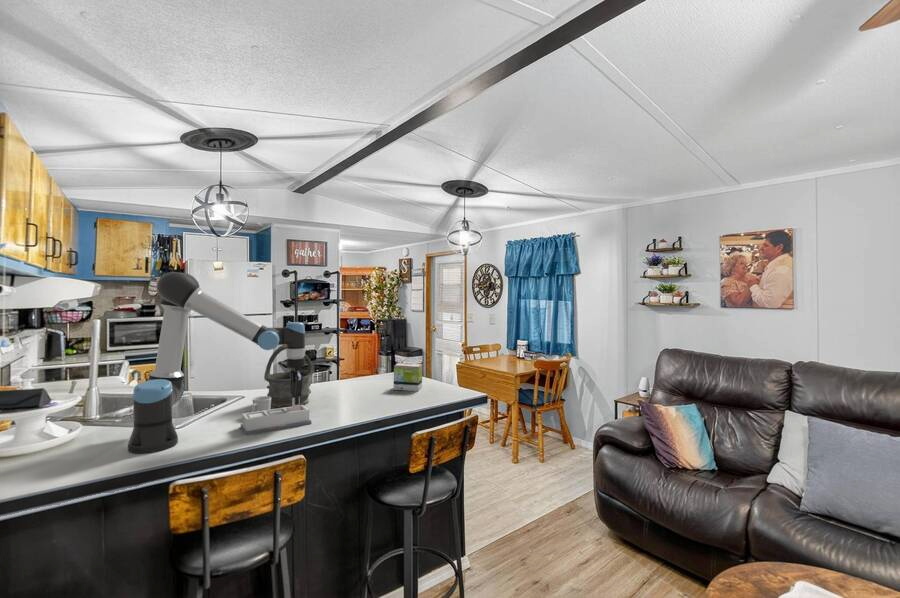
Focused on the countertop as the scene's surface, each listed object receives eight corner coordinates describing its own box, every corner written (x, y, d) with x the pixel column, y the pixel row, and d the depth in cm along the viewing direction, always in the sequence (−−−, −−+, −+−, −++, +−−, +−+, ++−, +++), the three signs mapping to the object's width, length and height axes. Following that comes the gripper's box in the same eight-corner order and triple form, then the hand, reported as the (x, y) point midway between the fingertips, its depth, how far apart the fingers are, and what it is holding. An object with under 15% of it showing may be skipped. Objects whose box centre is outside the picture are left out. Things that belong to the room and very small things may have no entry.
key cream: (250, 422, 173) (250, 417, 173) (248, 419, 177) (248, 414, 177) (263, 420, 176) (263, 415, 176) (261, 417, 180) (261, 413, 180)
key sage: (271, 419, 178) (271, 414, 178) (268, 416, 182) (268, 411, 182) (284, 417, 180) (284, 412, 180) (281, 414, 185) (281, 410, 185)
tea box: (393, 390, 246) (393, 365, 246) (398, 386, 256) (398, 362, 256) (418, 391, 244) (418, 366, 244) (422, 387, 254) (422, 363, 254)
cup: (260, 420, 188) (260, 402, 188) (244, 419, 190) (244, 401, 189) (274, 413, 199) (274, 396, 198) (259, 412, 200) (259, 395, 200)
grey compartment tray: (245, 435, 169) (245, 420, 169) (240, 427, 179) (240, 413, 178) (311, 423, 184) (311, 410, 184) (303, 416, 194) (303, 404, 193)
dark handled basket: (274, 397, 228) (274, 342, 227) (318, 397, 228) (318, 342, 228) (257, 409, 206) (257, 347, 205) (305, 409, 206) (305, 347, 206)
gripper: (309, 358, 182) (309, 413, 183) (300, 355, 193) (300, 406, 193) (290, 360, 178) (291, 416, 178) (283, 356, 188) (283, 409, 189)
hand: (295, 411), depth 186 cm, fingers closed
